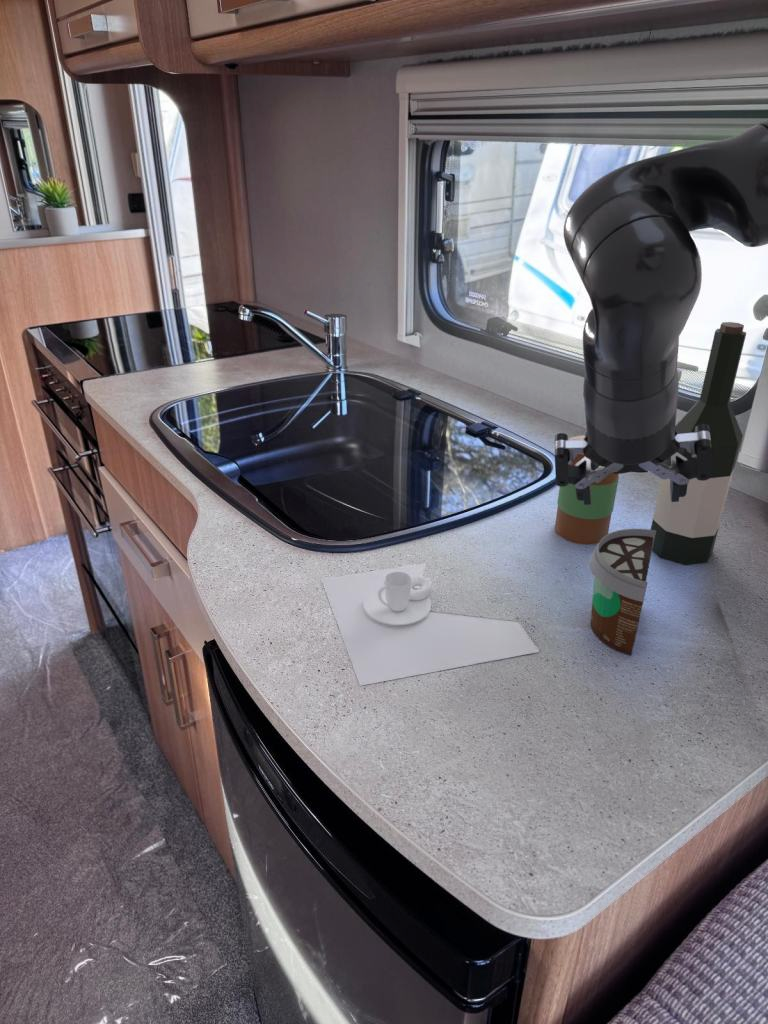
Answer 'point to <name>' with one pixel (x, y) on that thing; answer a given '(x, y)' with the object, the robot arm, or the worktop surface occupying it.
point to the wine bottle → (698, 514)
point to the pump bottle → (586, 509)
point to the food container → (620, 586)
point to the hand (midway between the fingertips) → (630, 495)
